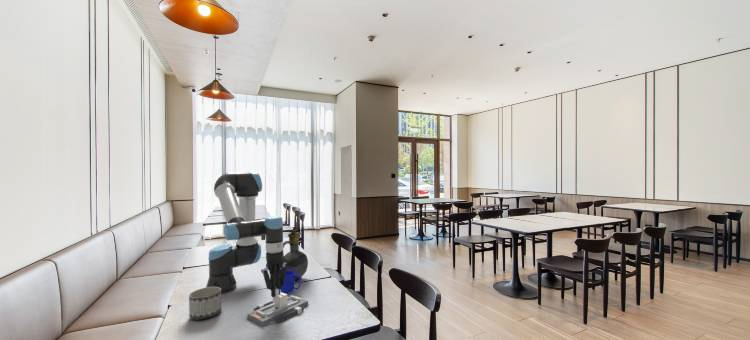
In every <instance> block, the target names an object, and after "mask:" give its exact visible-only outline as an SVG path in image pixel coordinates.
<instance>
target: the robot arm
mask: <svg viewBox="0 0 750 340" xmlns="http://www.w3.org/2000/svg"><path fill="white" fill-rule="evenodd" d="M262 189H263V181H262V178H261V175H260V174H259V173H258V172H256V171H237V172H236V171H235V172H232V171H231V172H230V171H229V172H226V173H224V174H221V176H220V177H218V178H217V179H216V181H215V182H214V186H213V191H214V195H215V197H217V198H218V200H219V203H220V206H221V209H222V213H223V216H224V218H225V222H226V223H225V224H224V225H223V234H224V235H223V236H224V238H225V240H226V241H235V240H237V241H236V242H235V246H233V245H232V243H231V244H222V245H217V246H216V247H213V248H211V249H210V250H209V252H208V273H209V274H208V280H207V283H206V286H205V288H206V287H219V288H221V294H225V293H226V294H227V293H228V292H231V291H233V290H236V288H237V280H236V278H235V275H234V271H233V269H234V268H238V267H246V266H251V265H253V264H257V263H259V261H260V260H261V255H262V245H261V243H260V242H259V241H258V240H257V238H256V237H260V236H261V237H262V236H265V260H266V264H265V267H264V268H262V269H261V270H260V272H261V274H263V279H264V283H265V287H266V289H267V290H270V291H271V292H270V296H271V297H272V301H273V303H274V304H278V303H279V295H280V293H281V291H280V289H281V288H282V287H281V286H283V285H284V281H285V275H286V269H287V267H288V263H284V261H283V253H284V248H283V243H284V227H283V226H284V223H283V217H282V216H278V215H277V216H276V215H275V216H268V217H266V218H265V217H262V218H259V219H256V199H257V197H258V196H259V193H260V192H262ZM237 198H238V200H237Z"/></svg>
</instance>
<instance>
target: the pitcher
mask: <svg viewBox="0 0 750 340" xmlns="http://www.w3.org/2000/svg"><path fill="white" fill-rule="evenodd" d="M301 235H302V231H301V232H299V231H297V230H296V229H293V230H290V231H289V232H288V235H287V237H288V240H285V241H283V249H284V248H285V245H287V244H289V251H288V252H287V253H286V254H285V255H284V252H283V261H284V263H288V267H287V269H286V271H294V272H295V275H301V280H302V279H303V276H304V275H305V274H306V272H307V271H308V264H309V261H308V256H307V254H306V253H305V252H302V251H301V250H300V249H299V246H300V245H299V244H300V240H299V239H300V236H301ZM294 283H299V277H298V276H295V281H294Z"/></svg>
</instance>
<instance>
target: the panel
mask: <svg viewBox="0 0 750 340" xmlns="http://www.w3.org/2000/svg"><path fill="white" fill-rule="evenodd" d="M287 303H288V305H286V306H283V307H281V308H278V307H275V304H274V303H272V304H269V305H267V306H265V307H262V308H260V309H258V310H255V311H254V310H253V311H251V312H248V313H247V314H246V315H247V316H246V319H247V320H250V321H251V322H253V323H256V324H257V325H259V326H261V327H264V326H267V325H269V324H271V323H273V322H276V319H277V318H279V317H281V316H283V315H285V314H287V313H290V312H292V311H294V308H295V307H297V306H298V307H303V308H304V307H307V306H308V305H309V300H307V299H305V298H303V297H300V296H296V295H293V294H292V295H289V296H287Z"/></svg>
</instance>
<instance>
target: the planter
mask: <svg viewBox="0 0 750 340" xmlns="http://www.w3.org/2000/svg"><path fill="white" fill-rule="evenodd" d="M188 307H189V308H188V311H189V314H188V315H189V318H190V319H191V320H194V321H195V320H197V321H199V320H205V319H210V318H212V317H215V316H217V315H219V314H220V312H221V311H222V309H223V308H222V307H223V306H222V293H221V288H219V287H206V286H205V287H201V288H198V289H196V290H193V291H191V292H190V293H189V294H188Z"/></svg>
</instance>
